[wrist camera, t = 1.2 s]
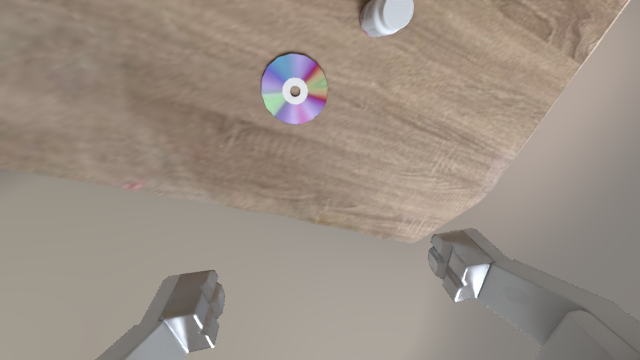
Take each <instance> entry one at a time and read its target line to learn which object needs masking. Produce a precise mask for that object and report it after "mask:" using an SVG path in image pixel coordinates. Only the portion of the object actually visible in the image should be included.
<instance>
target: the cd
mask: <svg viewBox="0 0 640 360" xmlns="http://www.w3.org/2000/svg"><path fill="white" fill-rule="evenodd" d="M292 86H298V87H299V88H300V95H299V96H297V97H293V96H292V95H291V94H290V89H291V87H292ZM327 92H328V87H327V82H326V78H325V75H324V73H323V72H322V70H321V69H320V67H319V66H318V64H317V63H316V62H314V61H313V60H311V59H310V58H308V57H307V56H304V55H298V54H292V53H291V54H288V55H284V56H281V57H278V58H277V59H276V60H275V61H273V62H272V63H271V64H270V65H269V66H268V67H267V69H266V71H265V74H264V76H263V78H262V92H261V94H262V97H263V100H264V102H265V105H266V107H267V108H268V110H269V111H270V112H271V113H272V114H273V115H274V117H276V118H278V119H280V120H281V121H283V122H285V123H291V124H301V123H304V122H308V121H310V120H312V119H313V118H314V117H315V116H317V115H318V114H319V113H320V112H321V110H322V108H323V106H324V105H325V103H326V98H327Z"/></svg>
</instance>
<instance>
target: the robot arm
mask: <svg viewBox="0 0 640 360" xmlns="http://www.w3.org/2000/svg"><path fill="white" fill-rule="evenodd" d="M431 243H432V244H433V247H432V248H431V249H430V250H429V253H428V260H429V265H430V267H431V269H432V271H433V272H434V274H435V275H436V276H438V277H440V278H441V279H443V287H444V288H445V290H446V291H447V292H448V294H449V295H450V297H451V298H452V299H453V301H454V302H458V301H465V300H471V299H477V300H478V301H479V302H481V303H482V304H484V305H485V306H487V307H488V308H489V309H491V310H492V311H494V312H495V313H496V314H498V315H499V316H501V317H502V318H504V319H505V320H506V321H508V322H509V323H511V324H512V325H514V326H515V327H516V328H518V329H519V330H521V331H522V332H523V333H525V334H526V335H528V336H529V337H531V338H532V339H533V340H535V341H537V342H538V343H539V344H541V345H542V347H541V348H540V350H539V351H538V352H537V354H536V355H535V360H640V322H639V321H638V320H637V319H635V318H634V317H633V316H631V315H630V314H629V313H627V312H626V311H625V310H623V309H622V308H621V307H619V306H618V305H617V304H615V303H614V302H612V301H610V300H607V299H605V298H603V297H600V296H598V295H596V294H594V293H591V292H589V291H587V290H584V289H582V288H579V287H577V286H575V285H573V284H570V283H568V282H566V281H563V280H561V279H559V278H557V277H554V276H552V275H549V274H547V273H545V272H542V271H540V270H538V269H536V268H533V267H531V266H529V265H526V264H524V263H522V262H519V261H517V260H510V259H509V258H507V256H505V255H504V254H503V253H502V252H501V251H500V250H499V249H498V248H496V247H495V246H494V245H493V244H492V243H491V242H490V241H489V240H487V239H486V238H485V237H484V236H483V235H482V234H481V233H479V232H478V231H477V230H476V229H473V228H469V229H463V230H457V231H450V232H445V233H439V234H434V235H433V236H432V238H431ZM217 278H218V276H217V273H216V271H215V270H209V271H201V272H194V273H186V274H180V275H173V276H168V277H167V278H166V279H165V280H164V281H163V282H162V284H161V286H160V288H159V290H158V292H157V293H156V296H155V297H154V299H153V301H152V303H151V304H150V306H149V308H148V310H147V312H146V313H145V316H144V317H143V319H142V321H141V323H140V324H139V325H135V326H133V327H132V328H131V329H130V330H129V331H128V332H127V333H125V334H124V335H123V336H122V337H121V338H120V339H119V340H117V341H116V342H115V343H114V344H113V345H112V346H111V347H109V348H108V349H107V350H106V351H105V352H104V353H103V354H102V355H100V356H99V357H98V358H97V359H96V360H183V359H184V358H185V357H186V355H187V353H188V352H193V351H198V350H202V349H207V348H212V347H214V345H215V340H216V337H217V333H218V328H219V324H218V322H217V320H216V319H217V318H218V317H219V316H220V315H221V314H222V312H223V308H224V299H225V295H224V289H223V287H222V285H221V284H219V283H218V282H217Z"/></svg>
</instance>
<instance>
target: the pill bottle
mask: <svg viewBox="0 0 640 360" xmlns="http://www.w3.org/2000/svg"><path fill="white" fill-rule="evenodd" d="M413 10H414V3H413V0H371V1H370V2H368V3H367V4H366V5H365V7H364V8H363V10H362V12H361V15H360V25H361V28H362V30H363V32H364V33H365V34H366V35H368V36H370V37H379V36H384V35H389V34H393V33H395V32H397V31H398V30H399V29H401V28H403V27H404V26H406V25H407V24H408V22H409V21H410V19H411V17H412V15H413Z"/></svg>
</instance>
